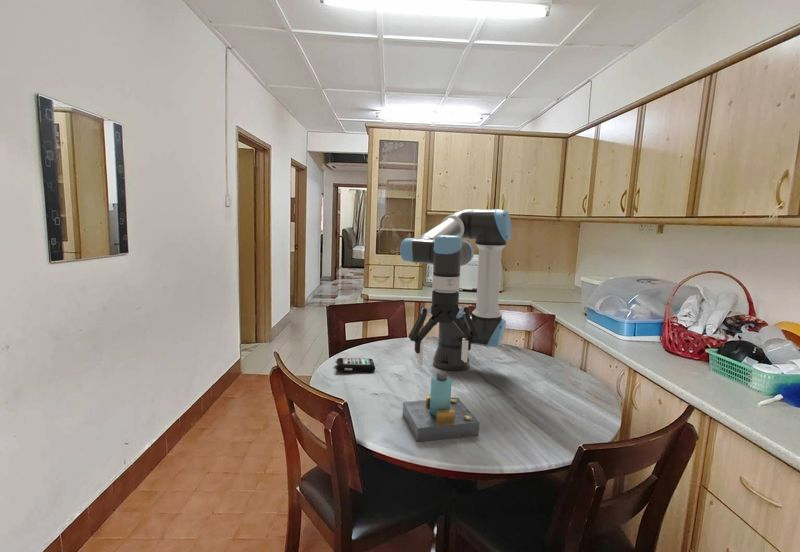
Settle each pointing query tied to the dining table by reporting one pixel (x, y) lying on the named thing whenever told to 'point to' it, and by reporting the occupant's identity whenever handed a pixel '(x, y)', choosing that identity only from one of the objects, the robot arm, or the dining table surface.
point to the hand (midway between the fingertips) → (442, 362)
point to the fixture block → (439, 421)
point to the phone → (355, 364)
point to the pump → (440, 393)
